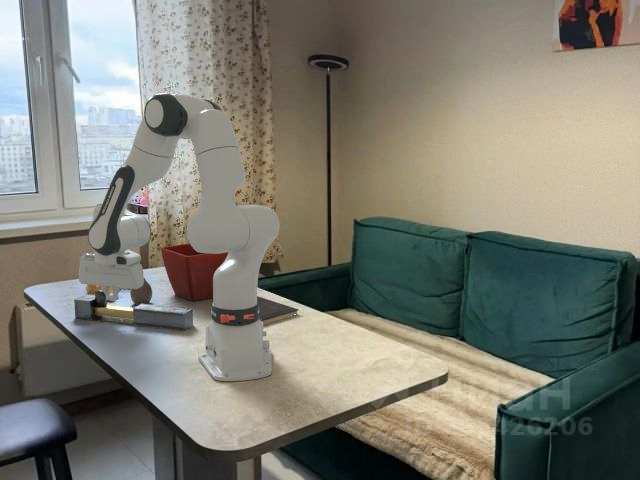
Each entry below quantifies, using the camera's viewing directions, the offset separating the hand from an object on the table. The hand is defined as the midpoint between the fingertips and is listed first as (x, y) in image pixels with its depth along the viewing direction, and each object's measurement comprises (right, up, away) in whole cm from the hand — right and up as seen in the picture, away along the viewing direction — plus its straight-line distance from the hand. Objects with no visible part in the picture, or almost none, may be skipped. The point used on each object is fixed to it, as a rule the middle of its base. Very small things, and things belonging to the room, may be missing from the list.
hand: (111, 300), depth 175 cm
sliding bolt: (+3, -5, 0) cm, 6 cm away
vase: (+4, -3, +17) cm, 18 cm away
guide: (+6, -6, 0) cm, 9 cm away
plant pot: (+20, -1, +29) cm, 35 cm away
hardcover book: (+42, -6, +12) cm, 44 cm away
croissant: (-13, -1, +27) cm, 30 cm away
